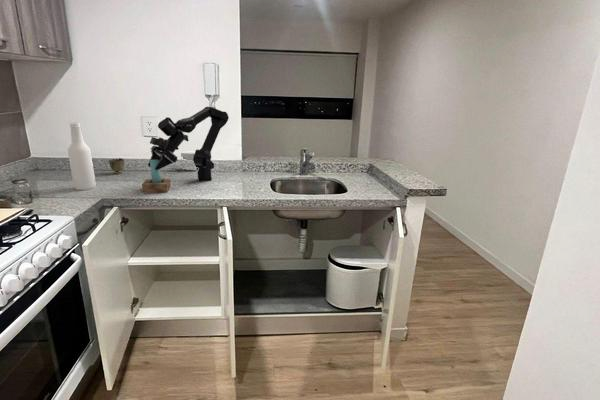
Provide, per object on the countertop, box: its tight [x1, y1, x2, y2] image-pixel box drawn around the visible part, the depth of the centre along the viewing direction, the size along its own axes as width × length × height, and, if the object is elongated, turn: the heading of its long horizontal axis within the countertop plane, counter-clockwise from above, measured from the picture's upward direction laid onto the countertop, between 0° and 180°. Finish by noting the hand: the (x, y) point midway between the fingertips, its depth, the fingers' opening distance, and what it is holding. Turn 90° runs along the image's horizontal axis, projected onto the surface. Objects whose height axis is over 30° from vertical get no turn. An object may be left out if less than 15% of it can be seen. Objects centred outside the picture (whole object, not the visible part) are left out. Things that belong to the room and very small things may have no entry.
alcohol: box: [67, 122, 97, 191], centre depth 158 cm, size 9×9×30 cm
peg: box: [149, 159, 162, 183], centre depth 161 cm, size 4×4×14 cm
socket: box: [141, 178, 172, 194], centre depth 163 cm, size 11×11×4 cm
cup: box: [108, 157, 125, 175], centre depth 190 cm, size 8×7×8 cm
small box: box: [180, 152, 195, 161], centre depth 204 cm, size 8×6×10 cm
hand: (152, 167), depth 159 cm, fingers open, 9 cm apart
